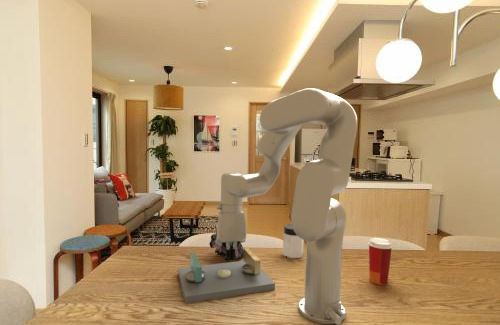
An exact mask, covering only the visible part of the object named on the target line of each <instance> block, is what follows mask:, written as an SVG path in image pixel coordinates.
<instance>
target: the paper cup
mask: <svg viewBox="0 0 500 325" xmlns="http://www.w3.org/2000/svg"><path fill="white" fill-rule="evenodd" d="M367 245H368V260H369V261H368V267H369V269H368V270H369V281H370V282H371V284H375V285H379V286H386V285H387V284H388V282H389V274H390V268H391V267H390V264H391V256H392V249H393V247H394V246H393V245H392V242H391V240H388V239H385V238H379V237H373V238H370V239H369V240H368V242H367ZM385 284H386V285H385Z"/></svg>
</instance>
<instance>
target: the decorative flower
mask: <svg viewBox="0 0 500 325" xmlns="http://www.w3.org/2000/svg"><path fill="white" fill-rule="evenodd" d="M209 238H210V241H209V248H211V249H214V248H215V251H214V253H215V254H217V255H218V256H219V257H224V261H225V262H230V261H229V260H228V259H227V258H226V248H225V247H224V246H223V245H218V244H216V243H215V241H216V232H215V233H212V234H211V236H210V237H209ZM231 243H232V242H229V245H230V247H231ZM243 254H244V247H243V245H242V243H240V244H239V245H238V246H237V247H236V249H235V258H236V262H238V261H242V259H243Z"/></svg>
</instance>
